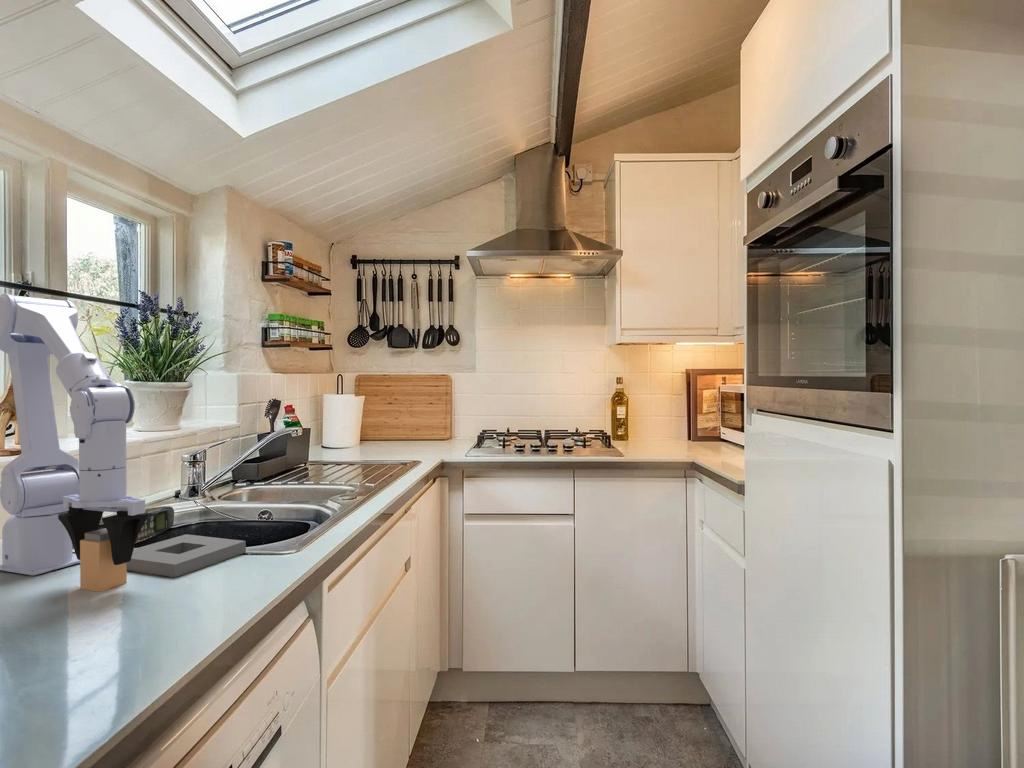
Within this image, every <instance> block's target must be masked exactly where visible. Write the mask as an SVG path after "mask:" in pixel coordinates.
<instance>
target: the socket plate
mask: <svg viewBox="0 0 1024 768" xmlns="http://www.w3.org/2000/svg"><path fill="white" fill-rule="evenodd" d="M246 543H247V542H246V540H241V539H233V538H232V539H230V538H222V537H212V536H205V535H204V536H203V535H195V534H182V535H179V536H176V537H172V538H169V539H165V540H161V541H157V542H154V543H151V544H147V545H143V546H140V547H136V548H134V550H133V553H132V557H131V561H129V562H126V566H127V572H134V573H141V572H142V574H147V573H149V575H154V574H155V575H156V576H161V575H162V576H163V577H168V578H178V577H181V576H183V575H186V574H189V573H192V572H195V571H198V570H200V569H203V568H206V567H208V566H211V565H215V564H216V563H219V562H222V561H225V560H228V559H231V558H234V557H236V556H240V555H243V554H245V553H246V552H247V547H246V546H247V545H246ZM162 576H161V577H162Z"/></svg>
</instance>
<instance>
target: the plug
mask: <svg viewBox="0 0 1024 768" xmlns="http://www.w3.org/2000/svg"><path fill="white" fill-rule="evenodd" d="M79 564H80V565H79V570H80V571H79V572H80V573H79V575H80V576H79V582H80V583H79V585H80V586H79V587H80V589H81V590H86V591H87V590H88V591H92V592H99V593H100V592H102V591H106V590H109V589H112V588H115V587H118V586H121V585H124V584H127V579H128V578H127V576H128V574H127V572H128V571H127V566H126V563H123V564H119V565H114V563H113V560H112V553H111V543H110V538H109V535H108V532H107V529H106V528H104V529H100V530H96V531H91V532H87V533H85V539H84V540H80V563H79Z"/></svg>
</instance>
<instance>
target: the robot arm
mask: <svg viewBox="0 0 1024 768" xmlns="http://www.w3.org/2000/svg"><path fill="white" fill-rule="evenodd" d="M78 324H79V312H78V309H77V307H76V306H75V304H74V303H73V302H72V301H71V300H68V299H62V300H61V299H60V300H59V299H51V298H42V297H33V296H31V297H30V296H23V295H22V296H21V295H14V294H13V295H12V294H11V293H2V294H0V351H2V352H4V353H5V354H7V356H8V358H7V359H8V363H9V368H10V375H11V382H12V390H13V398H14V405H15V413H16V414H15V415H16V420H17V421H16V422H17V427H18V428H17V429H18V438H19V443H20V444H19V445H20V454H19V455H18V456H16V457H15V458H14V459H13V460H11V461H10V462H9V463H7V464H6V465H5V466H4V467H3V468H2V470H1V474H0V477H1V478H0V481H1V482H0V503H1V506H2V508H3V510H4V511H6V512H7V513H9V515H10V516H9V517H8V518H7V519H6V521H5V522H4V523H3V526H2V530H1V531H2V532H1V545H2V546H1V553H2V554H1V555H2V556H1V557H2V558H1V564H0V571H2V572H3V571H4V572H9V573H16V574H21V575H27V576H38V575H41V574H44V573H49V572H51V571H55V570H58V569H62V568H65V567H69V566H73V565H76V564H80V540H84V539H85V533H87V532H91V531H96V530H98V527H99V524H100V520H101V517H102V515H103V514H104V512H106V513H107V512H108V513H116V514H115V515H110V516H105V517H104V515H103V518H102V522H103V523H104V525H105V527H106V529H107V532H108V535H109V538H110V543H111V553H112V560H113V563H114V565H119V564H123V563H126V562H129V561H131V557H132V553H133V550H134V549H135V547H136V546H135V545H136V543H137V541H136V540H137V537H138V535H139V532H140V530H141V528H142V526H143V525H144V523H145V521H146V520H147V518H148V512H145V511H146V499H141V498H137V497H134V496H131V495H128V492H127V491H128V490H127V485H128V484H127V483H128V482H127V474H128V473H127V424H129V423H130V422H132V419H134V418H133V417H134V416H135V409H136V403H135V397H134V394H133V393H132V390H131V388H130V387H128V386H127V385H122V384H121V383H120V382H114V380H113V379H112V377H111V375H110V374H109V372H108V371H107V369H106V368H105V366H104V364H103V363H102V361H101V360H100V359H99V357H98V356H97V355H95V353H92V352H87V351H86V350H85V348H84V346H83V344H82V341H81V339H80V338H79V335H78V333H77V327H78ZM50 355H51V356H52V355H53V356H54V357H55V359H56V360H57V361H58V363H57V364H56V368H55V373H56V375H57V377H58V378H59V381H60V382H61V384H62V386H63V387H64V389H65V391H66V393H67V394H68V396H69V397H70V405H69V414H70V415H69V416H70V419H71V420H72V421H71V422H72V423H73V431H74V432H73V434H74V437H75V438H77V439H78V458H77V457H76V456H74V455H72V454H70V453H68V452H66V451H64V450H62V449H61V448H60V441H59V433H58V426H57V420H56V412H55V406H54V405H55V404H54V397H53V390H52V384H51V382H52V381H51V376H50V369H49V361H48V359H49V357H50ZM73 550H74V553H75V556H73Z"/></svg>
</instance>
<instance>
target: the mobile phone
mask: <svg viewBox="0 0 1024 768" xmlns="http://www.w3.org/2000/svg"><path fill="white" fill-rule="evenodd" d="M145 512H148V518H147V520H146V521H145V523H144V525H143V526H142V528H141V530H140V532H139V535H138V537H137V540H136V542H138V541H141V540H144V539H146V538H149V537H153V536H155V535H158V534H162V533H164V532H166V531H167V530H169V529H171V528H172V527H173V525H174V521H175V510H174V508H173V506H169V505H167V506H159V507H154V508H151V509H148V510H145Z"/></svg>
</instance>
